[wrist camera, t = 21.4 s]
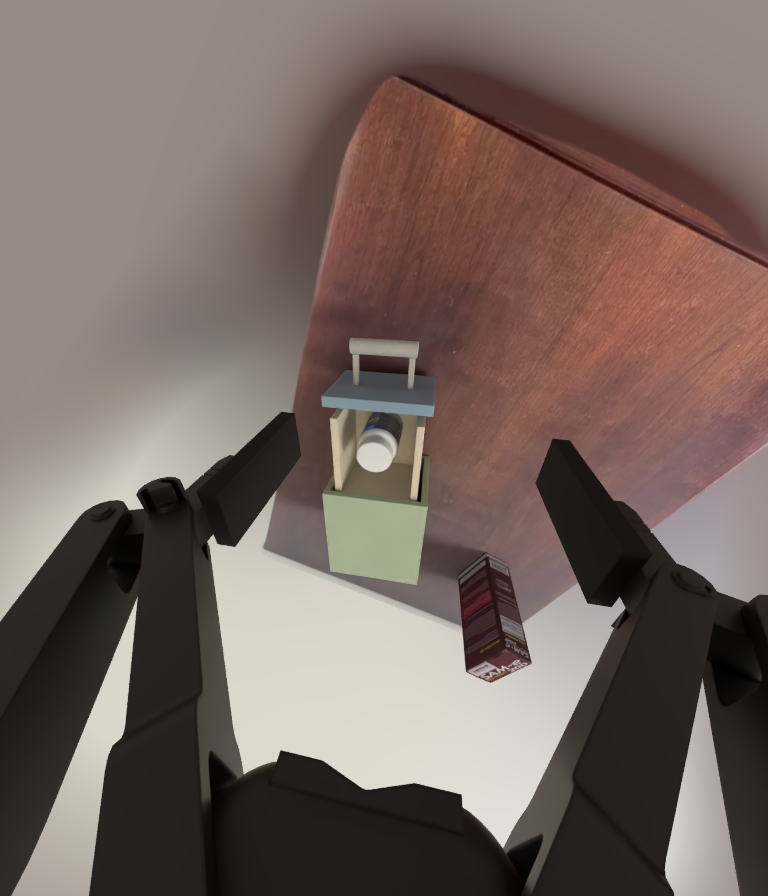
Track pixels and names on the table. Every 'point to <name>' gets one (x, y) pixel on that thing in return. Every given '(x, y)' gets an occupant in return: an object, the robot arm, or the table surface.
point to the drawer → (379, 393)
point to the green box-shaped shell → (376, 532)
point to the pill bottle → (379, 441)
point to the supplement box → (491, 621)
